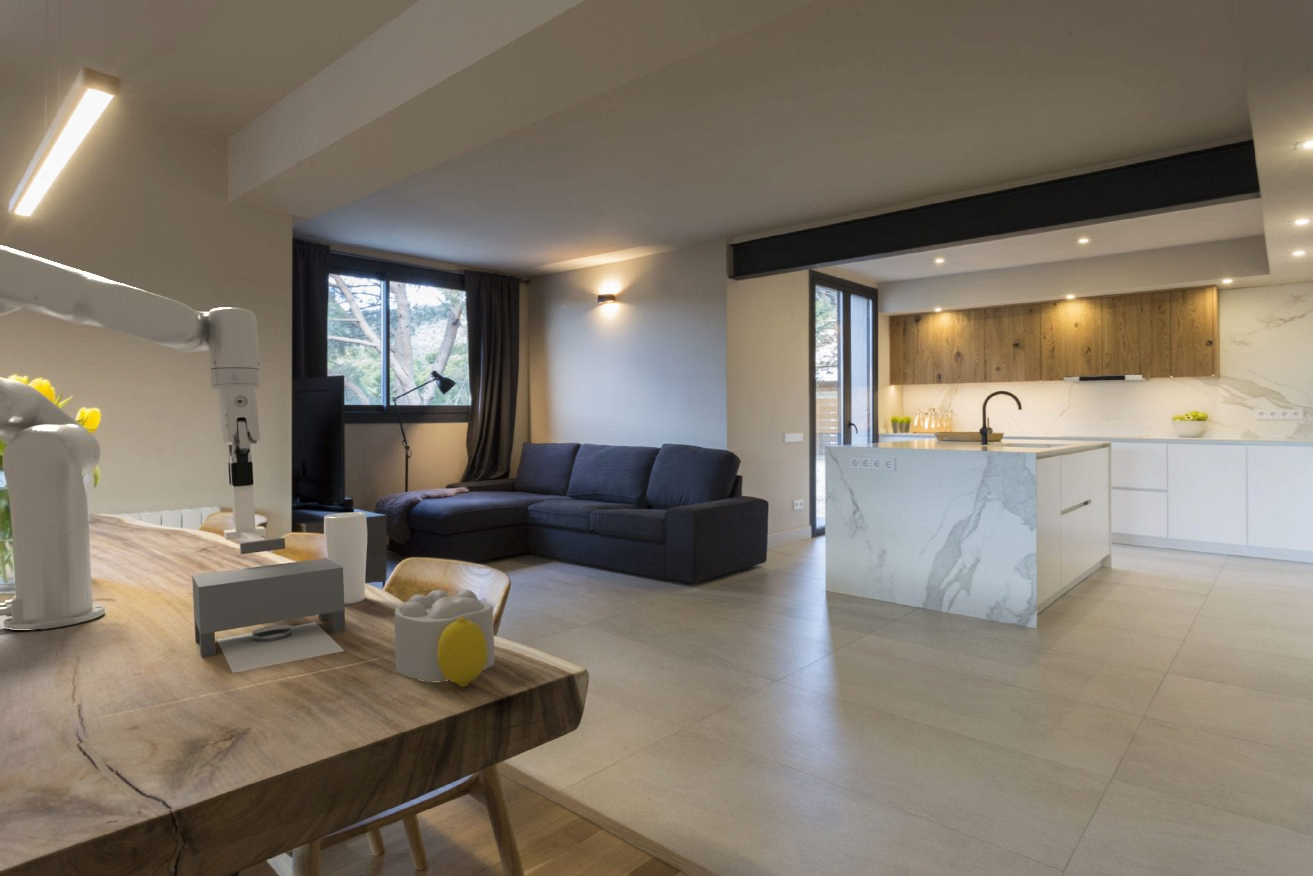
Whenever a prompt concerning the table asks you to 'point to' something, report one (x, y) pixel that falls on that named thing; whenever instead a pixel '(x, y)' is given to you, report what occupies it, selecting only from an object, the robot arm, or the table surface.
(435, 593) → the lumpy-topped squat cylinder
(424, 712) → the table surface
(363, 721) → the table surface
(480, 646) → the lemon
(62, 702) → the table surface
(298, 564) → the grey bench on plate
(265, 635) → the disc
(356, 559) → the drinking glass
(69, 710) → the table surface
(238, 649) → the mat
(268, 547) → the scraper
